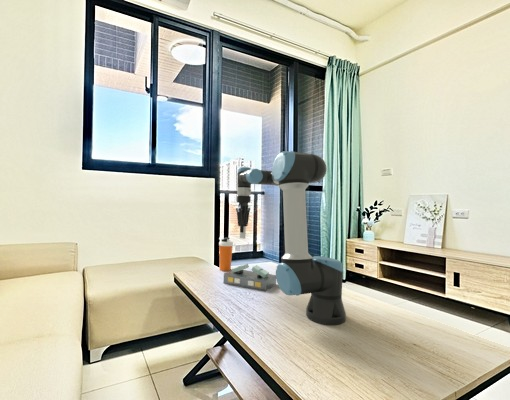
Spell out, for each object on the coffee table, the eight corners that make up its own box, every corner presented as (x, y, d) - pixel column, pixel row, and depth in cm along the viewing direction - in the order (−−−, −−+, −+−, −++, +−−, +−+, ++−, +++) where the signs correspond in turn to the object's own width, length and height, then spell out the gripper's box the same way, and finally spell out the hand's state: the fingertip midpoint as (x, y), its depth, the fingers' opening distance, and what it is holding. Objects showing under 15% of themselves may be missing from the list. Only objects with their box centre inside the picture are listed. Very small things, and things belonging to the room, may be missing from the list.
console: (265, 291, 137) (266, 278, 137) (223, 283, 148) (223, 271, 148) (275, 284, 149) (276, 272, 149) (235, 277, 160) (236, 266, 160)
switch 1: (245, 268, 148) (243, 265, 148) (232, 272, 151) (231, 269, 151) (249, 267, 152) (247, 263, 152) (237, 271, 155) (236, 267, 155)
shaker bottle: (233, 268, 181) (234, 237, 181) (230, 271, 172) (231, 239, 172) (219, 267, 182) (220, 237, 182) (216, 270, 173) (217, 238, 173)
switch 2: (264, 277, 143) (265, 274, 142) (251, 270, 146) (252, 266, 145) (267, 275, 147) (269, 272, 146) (255, 268, 150) (256, 264, 150)
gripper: (244, 195, 146) (243, 240, 145) (254, 196, 157) (253, 237, 157) (232, 194, 149) (230, 238, 148) (243, 195, 161) (242, 236, 160)
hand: (242, 238), depth 153 cm, fingers closed
